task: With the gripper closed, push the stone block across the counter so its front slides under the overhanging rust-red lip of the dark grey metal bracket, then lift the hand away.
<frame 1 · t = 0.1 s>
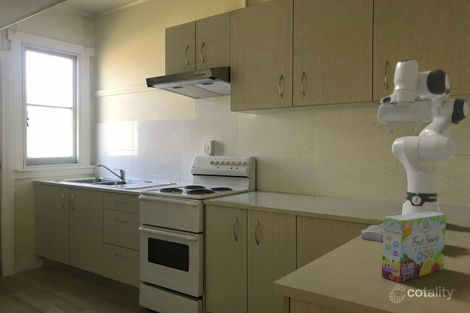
hand: (402, 133, 150), 39 cm above the counter, tool pointing down, fingers open, 8 cm apart
snack box: (414, 274, 97), on the counter
stone block: (379, 239, 137), on the counter
bracket: (427, 246, 126), on the counter
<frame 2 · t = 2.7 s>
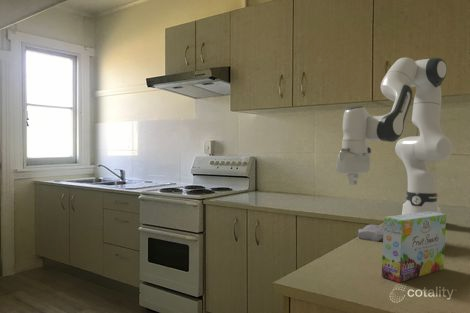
hand: (353, 184, 145), 19 cm above the counter, tool pointing down, fingers closed
stone block: (376, 239, 138), on the counter
everything else where it was.
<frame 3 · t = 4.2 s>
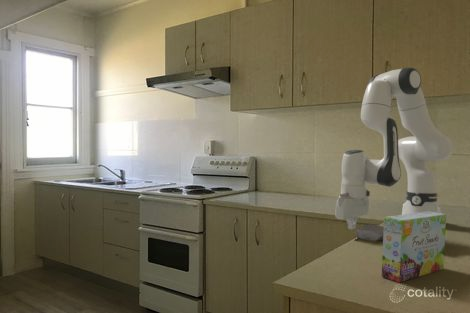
hand: (351, 228, 145), 2 cm above the counter, tool pointing down, fingers closed
nothing on the counter moved.
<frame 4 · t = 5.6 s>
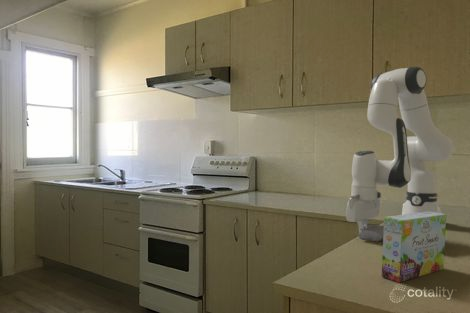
hand: (362, 231, 142), 2 cm above the counter, tool pointing down, fingers closed
stone block: (377, 239, 138), on the counter, touching gripper
everything else where it was.
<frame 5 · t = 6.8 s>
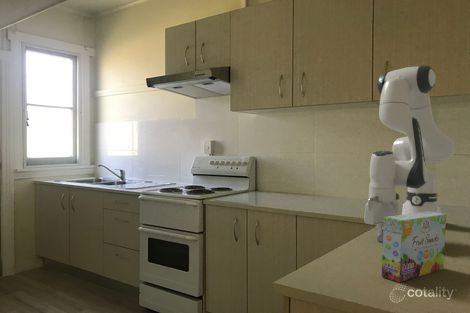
hand: (380, 234, 137), 2 cm above the counter, tool pointing down, fingers closed, pressing on stone block
stone block: (396, 242, 133), on the counter, touching gripper
everything else where it was.
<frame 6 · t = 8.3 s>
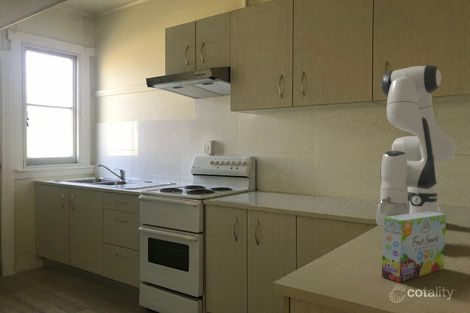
hand: (392, 236, 134), 2 cm above the counter, tool pointing down, fingers closed, pressing on stone block
stone block: (408, 245, 130), on the counter, touching gripper
everything else where it was.
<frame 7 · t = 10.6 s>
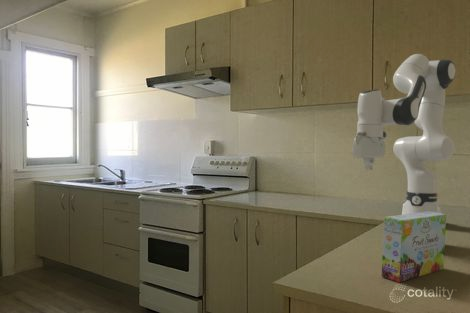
hand: (368, 170, 142), 24 cm above the counter, tool pointing down, fingers closed
stone block: (406, 244, 131), on the counter
everything else where it was.
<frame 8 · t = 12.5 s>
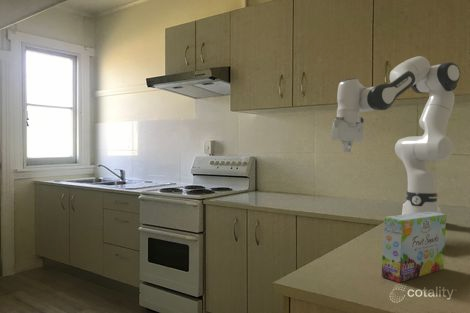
hand: (347, 152, 155), 31 cm above the counter, tool pointing down, fingers closed
nothing on the counter moved.
at the end: stone block inside the target area (1.0 cm from its centre), on the counter; stone block moved 8.2 cm from its start; stone block tilted 0° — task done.
